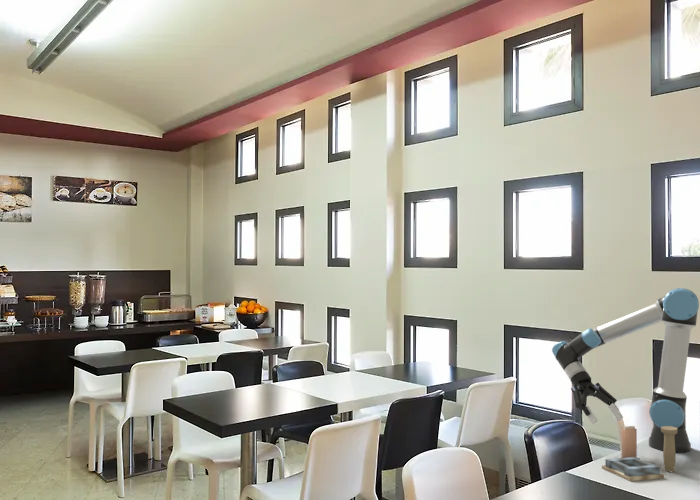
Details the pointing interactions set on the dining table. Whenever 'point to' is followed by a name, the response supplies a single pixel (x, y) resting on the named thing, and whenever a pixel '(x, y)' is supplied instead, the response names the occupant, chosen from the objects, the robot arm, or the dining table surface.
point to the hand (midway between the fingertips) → (608, 420)
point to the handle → (669, 447)
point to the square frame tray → (632, 469)
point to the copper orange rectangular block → (628, 441)
